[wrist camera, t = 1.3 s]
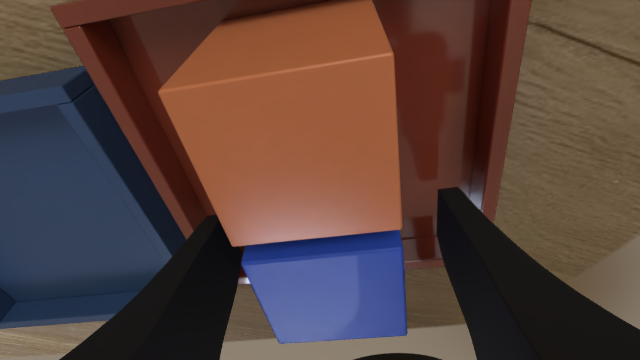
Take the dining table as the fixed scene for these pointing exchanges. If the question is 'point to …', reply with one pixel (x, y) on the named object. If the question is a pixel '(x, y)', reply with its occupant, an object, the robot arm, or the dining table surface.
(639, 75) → the dining table surface
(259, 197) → the terracotta block
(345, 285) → the blue block
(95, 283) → the blue tray
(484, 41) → the terracotta tray
